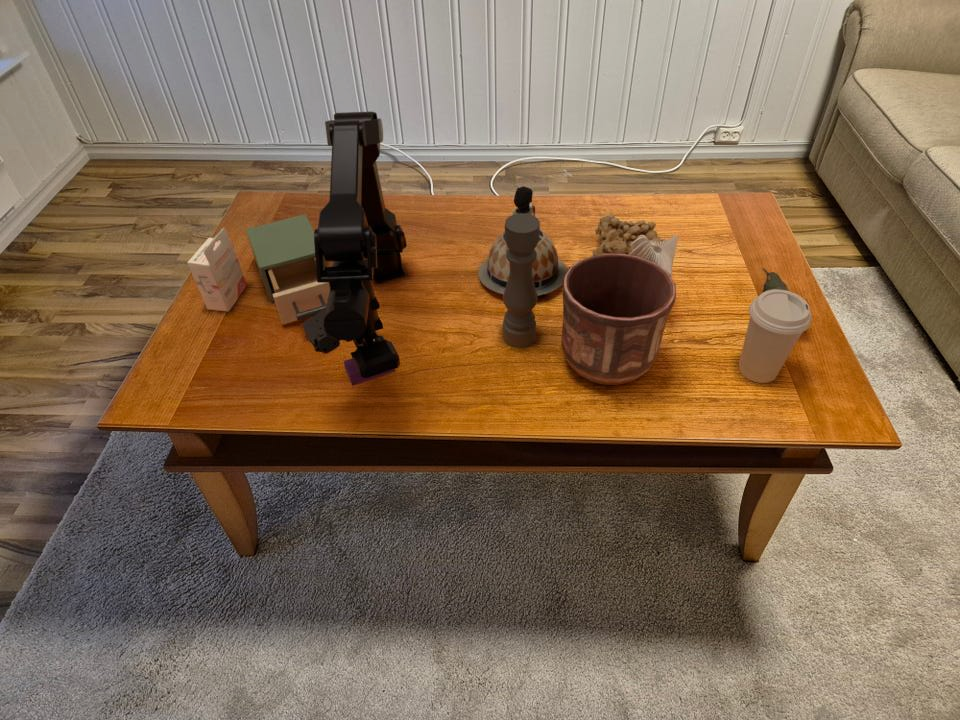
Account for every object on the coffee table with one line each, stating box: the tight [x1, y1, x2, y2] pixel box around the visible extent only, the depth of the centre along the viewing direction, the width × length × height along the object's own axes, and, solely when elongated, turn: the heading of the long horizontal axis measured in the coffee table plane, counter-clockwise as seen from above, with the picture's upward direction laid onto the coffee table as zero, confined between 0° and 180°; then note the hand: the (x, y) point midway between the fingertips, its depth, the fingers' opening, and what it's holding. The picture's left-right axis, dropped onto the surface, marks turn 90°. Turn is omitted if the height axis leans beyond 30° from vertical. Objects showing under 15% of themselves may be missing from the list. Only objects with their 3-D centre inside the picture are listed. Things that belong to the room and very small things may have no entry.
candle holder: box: [502, 213, 541, 349], centre depth 115 cm, size 6×6×25 cm
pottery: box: [560, 254, 677, 386], centre depth 112 cm, size 18×18×18 cm
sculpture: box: [761, 267, 790, 293], centre depth 126 cm, size 5×19×5 cm, turn 3°
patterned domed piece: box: [477, 185, 568, 299], centre depth 130 cm, size 18×18×20 cm
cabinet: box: [245, 214, 328, 303], centre depth 136 cm, size 15×13×9 cm
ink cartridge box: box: [186, 227, 248, 312], centre depth 128 cm, size 9×5×15 cm, turn 168°
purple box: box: [343, 357, 396, 387], centre depth 109 cm, size 8×4×2 cm, turn 115°
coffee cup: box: [738, 289, 812, 384], centre depth 111 cm, size 10×10×15 cm
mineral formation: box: [592, 213, 667, 259], centre depth 138 cm, size 8×13×15 cm
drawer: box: [267, 257, 330, 325], centre depth 128 cm, size 18×11×7 cm, turn 25°
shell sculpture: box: [629, 234, 679, 279], centre depth 122 cm, size 8×8×18 cm
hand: (369, 367), depth 109 cm, fingers closed on purple box, 4 cm apart
